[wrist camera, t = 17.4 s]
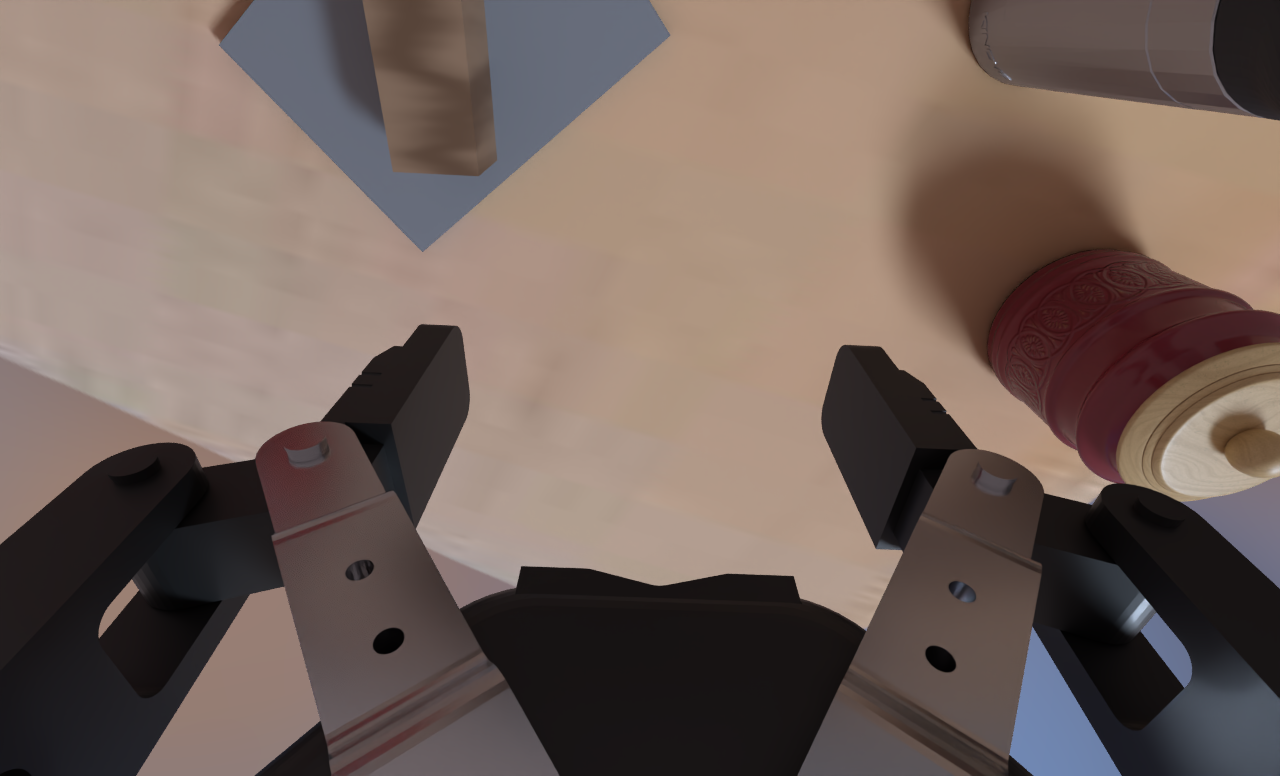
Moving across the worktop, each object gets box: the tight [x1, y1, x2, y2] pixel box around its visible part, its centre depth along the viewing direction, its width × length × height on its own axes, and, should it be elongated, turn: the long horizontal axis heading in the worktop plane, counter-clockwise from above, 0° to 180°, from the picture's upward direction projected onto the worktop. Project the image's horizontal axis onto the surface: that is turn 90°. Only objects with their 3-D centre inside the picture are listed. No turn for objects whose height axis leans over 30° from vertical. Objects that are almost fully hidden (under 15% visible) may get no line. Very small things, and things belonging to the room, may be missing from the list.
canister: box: [988, 249, 1280, 502], centre depth 37 cm, size 13×13×18 cm
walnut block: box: [362, 0, 497, 176], centre depth 32 cm, size 5×5×12 cm
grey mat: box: [219, 0, 670, 252], centre depth 34 cm, size 22×16×1 cm
